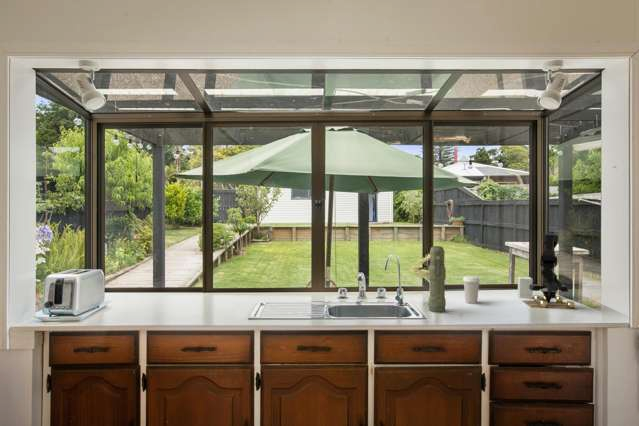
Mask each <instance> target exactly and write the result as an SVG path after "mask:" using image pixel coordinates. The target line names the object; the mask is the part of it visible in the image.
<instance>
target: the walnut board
mask: <svg viewBox="0 0 639 426" xmlns="http://www.w3.org/2000/svg"><path fill="white" fill-rule="evenodd" d="M522 302H523V303H524V304H526V305H527V306H528V307H530V308H531V309H542V308H541V307H540V305H537V304H536V302H534V300H522ZM546 309H552V310H553V309H554V310H556V309H557V310H559V309H560V310H570V309H569V308H567V302H566V301H563V303H556V301H550V303H547V308H546ZM573 310H579V308H577V307H575V306H574V309H573Z"/></svg>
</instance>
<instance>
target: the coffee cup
mask: <svg viewBox="0 0 639 426" xmlns="http://www.w3.org/2000/svg"><path fill="white" fill-rule="evenodd" d="M462 281H463V287H464V288H463V289H464V299H465V301H464V302H465V303H466V304H471V305H473V304H477V303H478V300H479V289H480V282H481V280H480V278H479V276H475V275H474V276H473V275H465V276H464V277H463V278H462Z"/></svg>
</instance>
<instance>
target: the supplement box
mask: <svg viewBox="0 0 639 426" xmlns="http://www.w3.org/2000/svg"><path fill="white" fill-rule="evenodd" d="M533 282H534V279H533V278H532V277H530V276H529V277H527V276H518V277H517V297H518V298H520V299H530V300H531V299H532V300H533V291H532V290H531V289H529V286H530V284H533Z"/></svg>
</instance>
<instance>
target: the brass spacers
mask: <svg viewBox="0 0 639 426" xmlns="http://www.w3.org/2000/svg"><path fill="white" fill-rule="evenodd" d="M539 298H541V295H537V294H536V295H534V294H533V301H534V302H536V299H539ZM541 299H546V298H545V296H543V295H542V298H541ZM555 302H556V303H563V302H564V296H561V295H556V298H555ZM566 303H567V308H569V309H568V310H575V309H574V307H575V301H572V300H567V302H566ZM540 307H541V308H540V309H548V308H547V301H544V300H540Z"/></svg>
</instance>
